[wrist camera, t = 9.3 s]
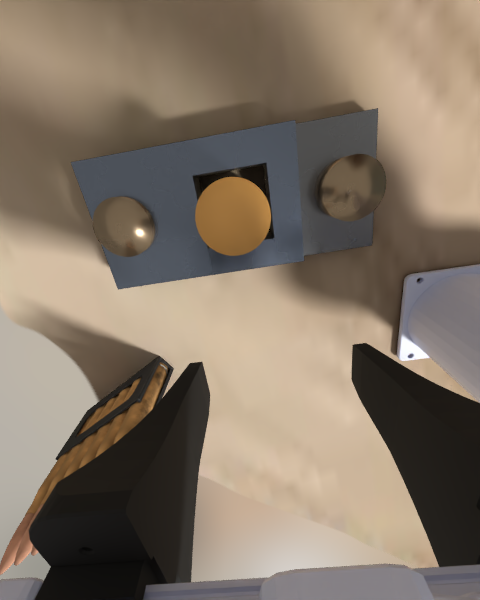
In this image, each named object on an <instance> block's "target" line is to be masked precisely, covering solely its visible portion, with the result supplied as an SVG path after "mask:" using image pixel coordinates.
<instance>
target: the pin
mask: <svg viewBox="0 0 480 600" xmlns="http://www.w3.org/2000/svg"><path fill="white" fill-rule="evenodd" d="M195 221H196V226H197V229H198V232H199V234H200V236H201V238H202V239H203V241H204V242H205V243H206V244H207V245H208V246H209V247H210V248H212V249H213V250H215V251H216V252H218V253H221V254H224V255H229V256H238V255H243V254H246V253H249V252H251V251H252V250H254V249H255V248H257V247H258V246H259V245H260V244H261V243H262V241H263V240H264V239H265V237H266V235H267V233H268V231H269V227H270V223H271V211H270V206H269V203H268V200H267V198H266V196H265V195H264V193H263V192H262V191H261V189H260V188H259V187H258V186H256V185H255V184H254V183H252V182H251V181H249V180H246V179H243V178H239V177H226V178H222V179H219V180H217V181H215V182H213V183H212V184H210V185H209V186H208V187H207V188H206V189H205V190H204V191H203V193H202V194H201V196H200V198H199V200H198V202H197V205H196V210H195Z"/></svg>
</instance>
